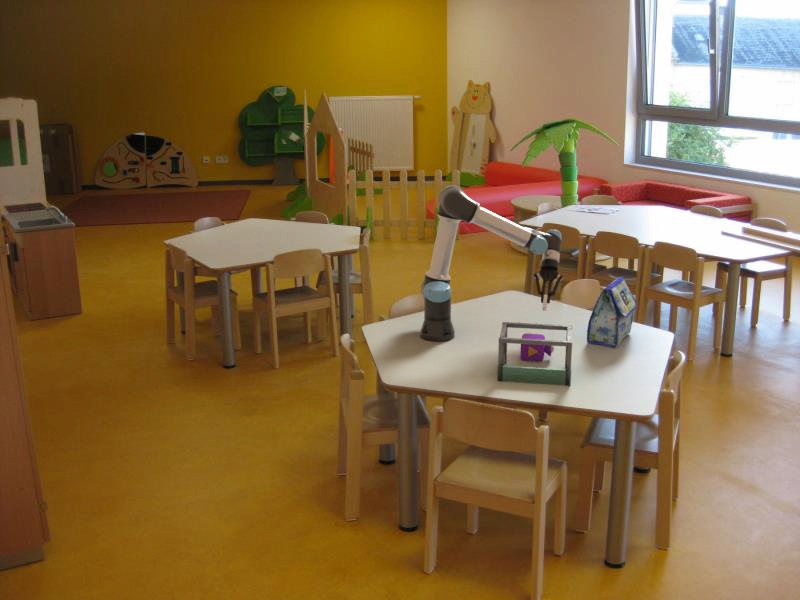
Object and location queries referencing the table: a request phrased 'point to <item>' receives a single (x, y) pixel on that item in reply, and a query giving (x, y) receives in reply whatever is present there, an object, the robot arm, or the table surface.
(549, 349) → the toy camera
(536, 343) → the frame
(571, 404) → the table surface
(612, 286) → the lunch bag
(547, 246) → the robot arm
